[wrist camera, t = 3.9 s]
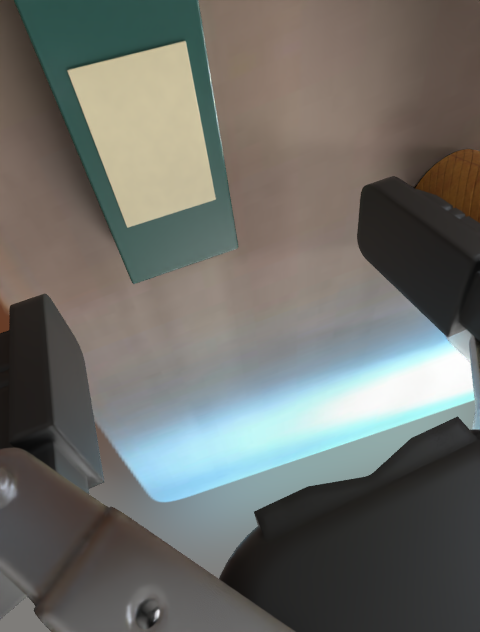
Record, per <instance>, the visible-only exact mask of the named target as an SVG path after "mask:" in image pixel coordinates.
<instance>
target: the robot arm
mask: <svg viewBox="0 0 480 632" xmlns="http://www.w3.org/2000/svg"><path fill="white" fill-rule="evenodd" d="M357 240H358V245H359V248H360V251H361V253H362V255H363V256H364V257H365V258H366V259H367V260H368V261H369V262H370V263H371V264H372V265H373V266H374V267H375V268H376V269H377V270H378V271H379V272H380V273H381V274H382V275H383V276H384V277H385V278H386V279H387V280H388V281H389V282H390V283H392V284H393V285H394V286H395V287H396V288H397V289H398V290H399V291H400V292H401V293H402V294H403V295H404V296H405V297H406V298H407V299H408V300H409V301H410V302H411V303H412V304H413V305H414V306H415V307H417V308H418V309H419V310H420V311H421V312H422V313H423V314H424V315H425V316H426V317H427V318H428V319H429V320H430V321H431V322H432V323H433V324H434V325H435V326H436V327H437V328H438V329H439V330H441V331H442V332H443V333H444V334H445V335H446V336H447V337H450V336H452V335H455V334H457V333H459V332H462V331H464V330H466V329H467V330H468V331H469V332H470V333H471V334H472V335H471V338H470V341H469V351H470V360H471V369H472V379H473V388H474V397H475V418H474V422H473V428H472V430H469V429H468V428H467V426H466V425H465V424H464V423H463V422H462V421H461V420H460V419H459V417H456V418H454V419H451V420H449V421H447V422H445V423H443V424H441V425H439V426H437V427H434V428H432V429H430V430H428V431H426V432H424V433H421V434H420V435H417V436H415V437H413V438H411V439H410V440H409V441H408V442H407V443H406V444H404V445H403V446H402V447H401V448H400V449H399V450H398V451H397V452H396V453H394V454H393V455H392V456H391V457H390V458H389V459H388V460H387V461H386V462H385V463H384V464H382V465H381V466H380V467H379V468H378V469H377V470H376V471H375V472H374V473H372V474H371V475H369V476H366V477H362V478H356V479H350V480H344V481H338V482H332V483H326V484H320V485H315V486H309V487H306V488H304V489H302V490H299V491H298V492H295V493H293V494H291V495H289V496H287V497H284V498H282V499H280V500H278V501H276V502H274V503H272V504H269V505H267V506H266V507H263V508H261V509H259V510H257V511H255V512H254V514H255V517H256V520H257V523H258V527H256V528H255V529H254V530H253V531H252V532H251V533H250V534H249V535H247V537H246V538H245V539H244V540H243V541H242V542H241V543H240V545H239V546H238V547H237V548H236V550H235V551H234V553H233V554H232V556H231V557H230V559H229V560H228V562H227V564H226V566H225V568H224V570H223V571H222V574H221V575H220V578H219V579H218V578H217V577H215V576H214V575H212V574H211V573H209V572H208V571H206V570H205V569H204V568H202V567H201V566H199V565H198V564H196V563H195V562H193V561H192V560H191V559H189V558H187V557H186V556H185V555H183V554H182V553H180V552H179V551H177V550H176V549H175V548H173V547H172V546H170V545H169V544H167V543H166V542H164V541H163V540H162V539H160V538H159V537H157V536H155V535H154V534H153V533H151V532H150V531H148V530H147V529H146V528H144V527H143V526H141V525H139V524H138V523H137V522H135V521H134V520H132V519H131V518H130V517H128V516H127V515H125V514H124V513H122V512H120V511H119V510H117V509H115V508H113V507H110V508H109V507H107V506H105V505H104V504H102V503H101V502H99V501H98V500H96V499H95V498H93V497H92V496H91V495H89V489H90V488H92V487H95V486H97V485H99V484H102V483H104V477H103V472H102V465H101V459H100V453H99V447H98V441H97V435H96V428H95V422H94V416H93V410H92V404H91V398H90V392H89V385H88V379H87V373H86V367H85V361H84V357H83V354H82V351H81V349H80V346H79V344H78V342H77V340H76V338H75V336H74V335H73V333H72V332H71V330H70V328H69V327H68V325H67V324H66V322H65V321H64V319H63V317H62V316H61V314H60V313H59V311H58V309H57V308H56V306H55V305H54V303H53V301H52V300H51V298H50V297H49V296H48V295H47V294H42V295H39V296H36V297H33V298H30V299H28V300H25V301H22V302H19V303H16V304H13V305H11V306H10V329H9V331H6V332H3V333H0V619H1V618H3V617H4V616H5V615H6V614H7V613H8V612H9V611H11V610H12V609H13V608H14V607H15V606H17V605H18V604H19V603H20V602H21V601H22V600H24V599H25V598H26V597H29V599H30V600H31V601H32V602H33V603H34V605H35V608H34V612H35V614H36V615H37V617H38V618H39V619H40V621H41V622H42V623H43V624H44V625H45V626H46V627H47V628H48V629H49V630H50V631H51V632H480V223H479V222H477V221H476V220H474V219H473V218H471V217H470V216H467V217H466V216H465V213H463V212H462V211H460V210H459V209H457V208H453V205H451V204H449V203H448V202H446V201H445V200H443V199H442V198H440V197H439V196H437V195H434V194H431V193H428V192H425V191H422V190H418V189H414V188H413V187H411V186H410V185H408V184H407V183H405V182H404V181H402V180H401V179H399V178H397V177H395V176H392V177H389V178H386V179H383V180H380V181H377V182H374V183H371V184H368V185H366V186H364V188H363V189H362V192H361V198H360V210H359V222H358V233H357Z"/></svg>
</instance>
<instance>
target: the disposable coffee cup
mask: <svg viewBox="0 0 480 632" xmlns="http://www.w3.org/2000/svg"><path fill="white" fill-rule="evenodd" d="M415 189H418V190H422V191H425V192H428V193H431V194H434V195H437V196H439V197H440V198H442V199H443V200H445V201H446V202H448V203H449V204H451V205H453V208H457V209H459V210H460V211H462V212H463V213H465V216H466V217H467V216H470V217H471V218H473V219H474V220H476V221H477V222H479V223H480V151H477V150H472V149H465V150H460V151H457V152H454V153H452V154H450V155H449V156H447V157H445V158H443V159H442V160H441V161H439V162H438V163H437V164H435V165H434V166H433V167H432V168H431V169H430V170H429V171H428V172H427V173H426V174H425V176H424V177H423V178H422V179H421V180H420V182H419V183H418V185H417V186H416V188H415Z"/></svg>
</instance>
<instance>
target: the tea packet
mask: <svg viewBox="0 0 480 632" xmlns="http://www.w3.org/2000/svg"><path fill="white" fill-rule="evenodd" d="M14 2H15V4H16V7H17V9H18V12H19V14H20V16H21V19H22V21H23V23H24V26H25V28H26V31H27V33H28V35H29V38H30V40H31V43H32V45H33V47H34V50H35V52H36V54H37V57H38V59H39V62H40V64H41V66H42V69H43V71H44V74H45V76H46V78H47V81H48V83H49V86H50V88H51V90H52V93H53V95H54V97H55V100H56V102H57V105H58V107H59V109H60V112H61V114H62V117H63V119H64V121H65V124H66V126H67V128H68V131H69V133H70V136H71V138H72V140H73V143H74V145H75V148H76V150H77V152H78V155H79V157H80V160H81V162H82V164H83V167H84V169H85V171H86V174H87V176H88V179H89V181H90V183H91V186H92V188H93V191H94V193H95V195H96V198H97V200H98V202H99V205H100V207H101V210H102V212H103V214H104V217H105V219H106V222H107V224H108V226H109V229H110V231H111V234H112V236H113V238H114V241H115V243H116V245H117V248H118V250H119V253H120V255H121V257H122V260H123V262H124V265H125V267H126V269H127V272H128V274H129V276H130V279H131V281H132V283H133V284H135V283H138V282H141V281H144V280H147V279H150V278H153V277H156V276H159V275H162V274H164V273H167V272H170V271H173V270H176V269H179V268H182V267H185V266H188V265H191V264H194V263H197V262H199V261H202V260H205V259H208V258H211V257H214V256H217V255H220V254H223V253H226V252H229V251H232V250H234V249H237V248H238V242H237V235H236V229H235V223H234V217H233V211H232V205H231V199H230V192H229V186H228V180H227V174H226V168H225V162H224V155H223V149H222V143H221V137H220V131H219V125H218V119H217V112H216V106H215V100H214V94H213V88H212V82H211V76H210V69H209V63H208V57H207V51H206V45H205V39H204V33H203V26H202V20H201V14H200V8H199V2H198V0H14Z"/></svg>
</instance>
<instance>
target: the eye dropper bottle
mask: <svg viewBox="0 0 480 632" xmlns="http://www.w3.org/2000/svg"><path fill="white" fill-rule="evenodd" d="M471 335H472V334H471V333H470V332H469V331H468V330H467V329H466V330H464V331H462V332H459V333H457V334H455V335H452V336H450V337H447V336H446V338H447V340H448V341H449V342H450V344H451V345H452V346H453V347H454V348H455V349H456V350H458V351H459V352H460V353H461V354H462V355H463V356H464V357H465V358H466V359H467V360H468V361H469V362H470V363H471V360H470V351H469V341H470V338H471Z"/></svg>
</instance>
